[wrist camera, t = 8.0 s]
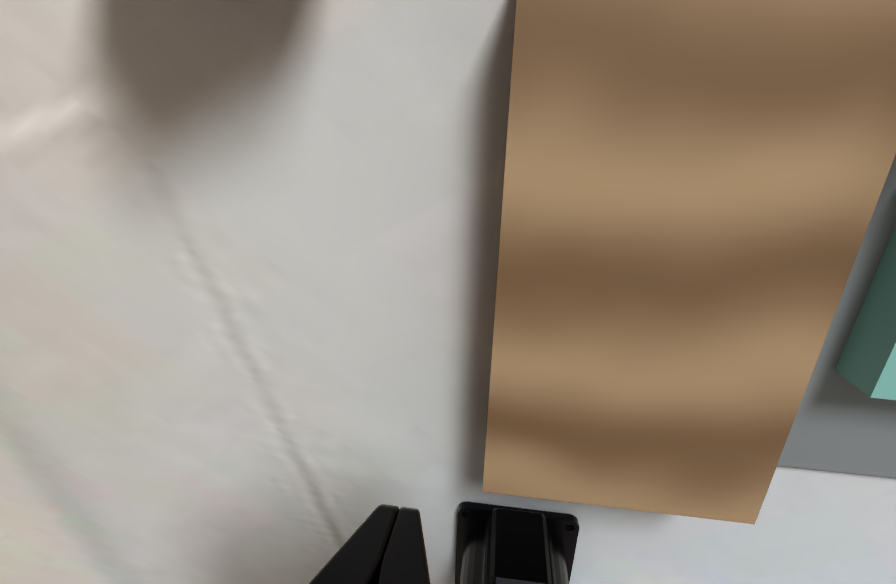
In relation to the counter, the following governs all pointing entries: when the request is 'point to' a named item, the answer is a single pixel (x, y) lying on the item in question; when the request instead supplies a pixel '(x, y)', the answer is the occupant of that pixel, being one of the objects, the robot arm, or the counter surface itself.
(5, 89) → the counter surface
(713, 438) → the deck
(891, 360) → the teal rectangular block
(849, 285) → the mat
